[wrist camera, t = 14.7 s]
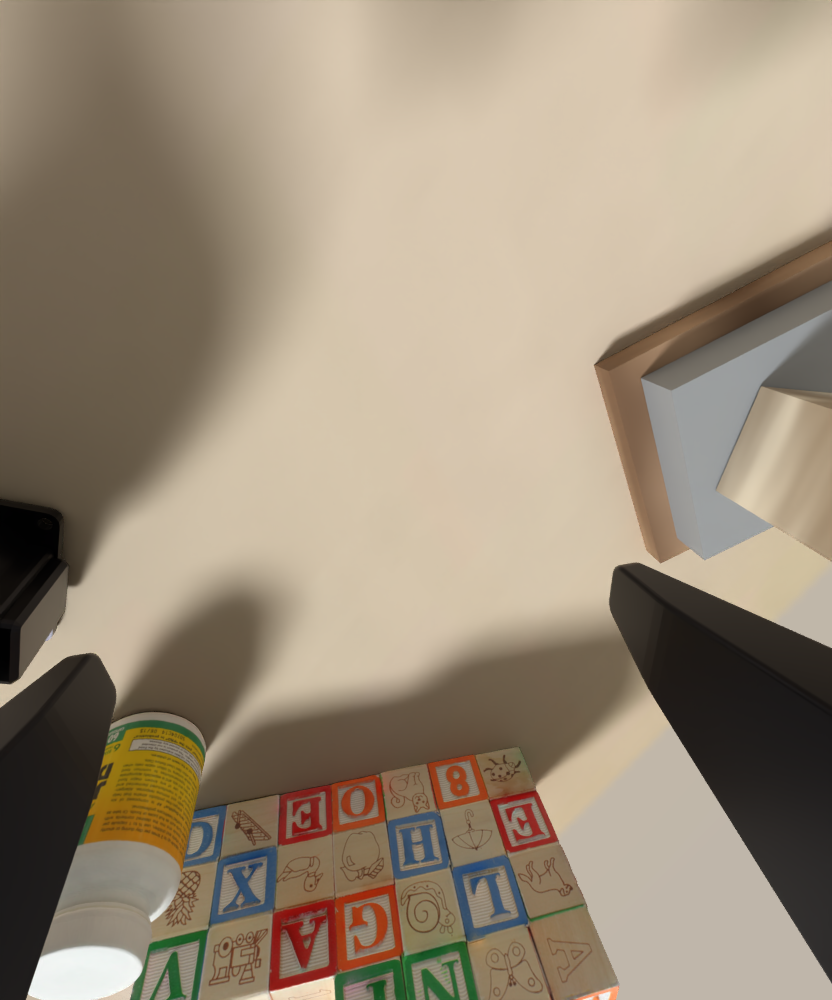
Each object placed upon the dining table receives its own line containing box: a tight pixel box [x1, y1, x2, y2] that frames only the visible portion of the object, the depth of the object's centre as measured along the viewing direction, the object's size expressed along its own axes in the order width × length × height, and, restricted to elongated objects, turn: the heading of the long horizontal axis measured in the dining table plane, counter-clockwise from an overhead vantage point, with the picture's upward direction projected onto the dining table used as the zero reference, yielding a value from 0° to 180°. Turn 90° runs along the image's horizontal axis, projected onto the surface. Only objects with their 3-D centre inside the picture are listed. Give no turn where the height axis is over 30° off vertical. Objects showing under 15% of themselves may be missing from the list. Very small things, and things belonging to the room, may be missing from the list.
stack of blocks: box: [130, 747, 619, 1000], centre depth 27 cm, size 21×6×12 cm, turn 92°
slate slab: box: [641, 281, 832, 560], centre depth 22 cm, size 9×9×2 cm
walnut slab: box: [594, 241, 832, 563], centre depth 23 cm, size 11×11×2 cm
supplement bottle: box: [28, 712, 206, 1000], centre depth 22 cm, size 5×5×10 cm
